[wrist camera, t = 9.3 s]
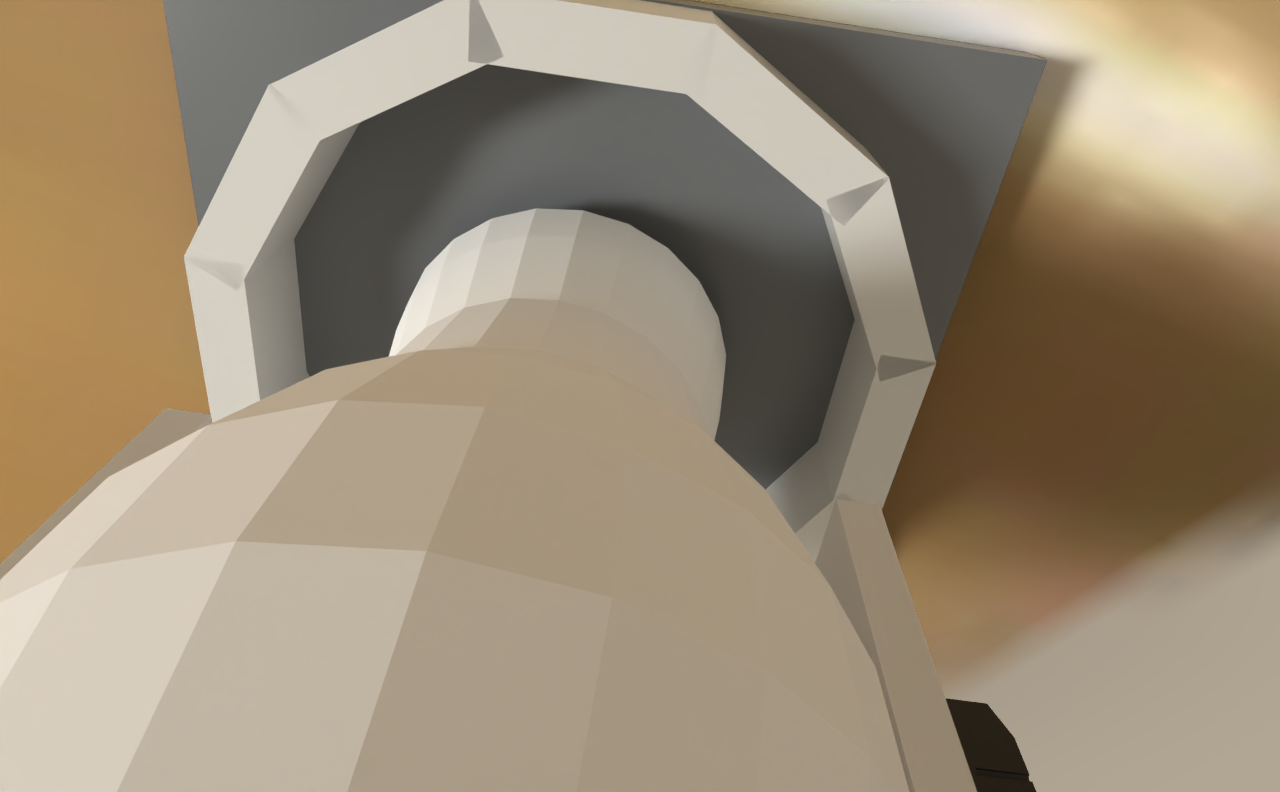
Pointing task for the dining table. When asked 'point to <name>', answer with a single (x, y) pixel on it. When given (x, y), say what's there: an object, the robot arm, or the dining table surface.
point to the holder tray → (603, 191)
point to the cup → (453, 568)
